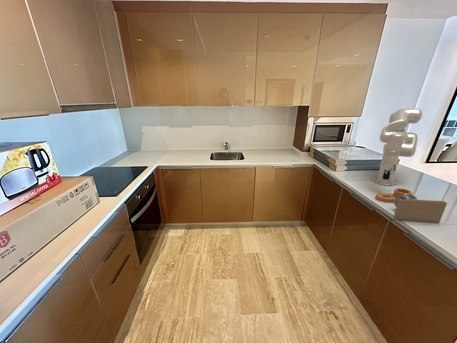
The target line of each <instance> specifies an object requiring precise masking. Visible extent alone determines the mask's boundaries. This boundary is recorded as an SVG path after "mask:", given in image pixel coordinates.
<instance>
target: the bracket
mask: <svg viewBox="0 0 457 343" xmlns="http://www.w3.org/2000/svg"><path fill="white" fill-rule="evenodd" d="M402 194H411V195H413V192H412V191H411V190H409V189H406V188H399V187H396V188H394V191H393V193H386V192H377V193H376V194H375V197H374V198H375V199H376V201H378V202H381V203H385V204H386V203H387V204H389V203H390V204H394V202H395V200H396V198H397V197H398V196H400V195H402Z"/></svg>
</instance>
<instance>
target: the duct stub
mask: <svg viewBox="0 0 457 343" xmlns="http://www.w3.org/2000/svg"><path fill="white" fill-rule="evenodd" d="M393 204H394V206H395V211H394V214H393V217H392V218H393V220H395V221H399V222H400V221H401V222H402V221H403V222H416V223H417V222H418V223H419V222H420V223H432V224H439V223H440V222H441V220H442V218H443V214H444V212H445V210H446V207H447V205H448V202H446V201H444V200H443V201H442V200H430V199H428V200H427V199H426V200H425V199H418V198H417V197H416V196H415V195H413V194H412V195H411V194H402V195H400V196H398V197H397V198H396V200H395V202H394V203H393Z"/></svg>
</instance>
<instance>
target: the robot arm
mask: <svg viewBox="0 0 457 343" xmlns="http://www.w3.org/2000/svg"><path fill="white" fill-rule="evenodd" d="M422 116H423V111H422V110H421V109H419V108H400V109H398V110H396V111H395V112H393V113H391V114H390V115H389V119H388V124H386V125H385V126H384V127H383V128H382V129H381V131H380V135H379V141H380V142H381V143H385V144H384V145H383V150H382V159H381V162H380V166H379V171H378V174H377V178H375V179H374V182H375V183H376V184H379V185H382V186H390V187H391V186H395V185H396V182H395V181H394V178H395V175H396V172H397V170H398V169H397V168H398V165H399V157H403V158H410V157H413V156H414V155H415V153H416V151H417V145H418V144H417V143H418V134H417V133H415V132H406V128H407V127H408V124H417V123H419V121H420V120H421V118H422Z"/></svg>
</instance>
